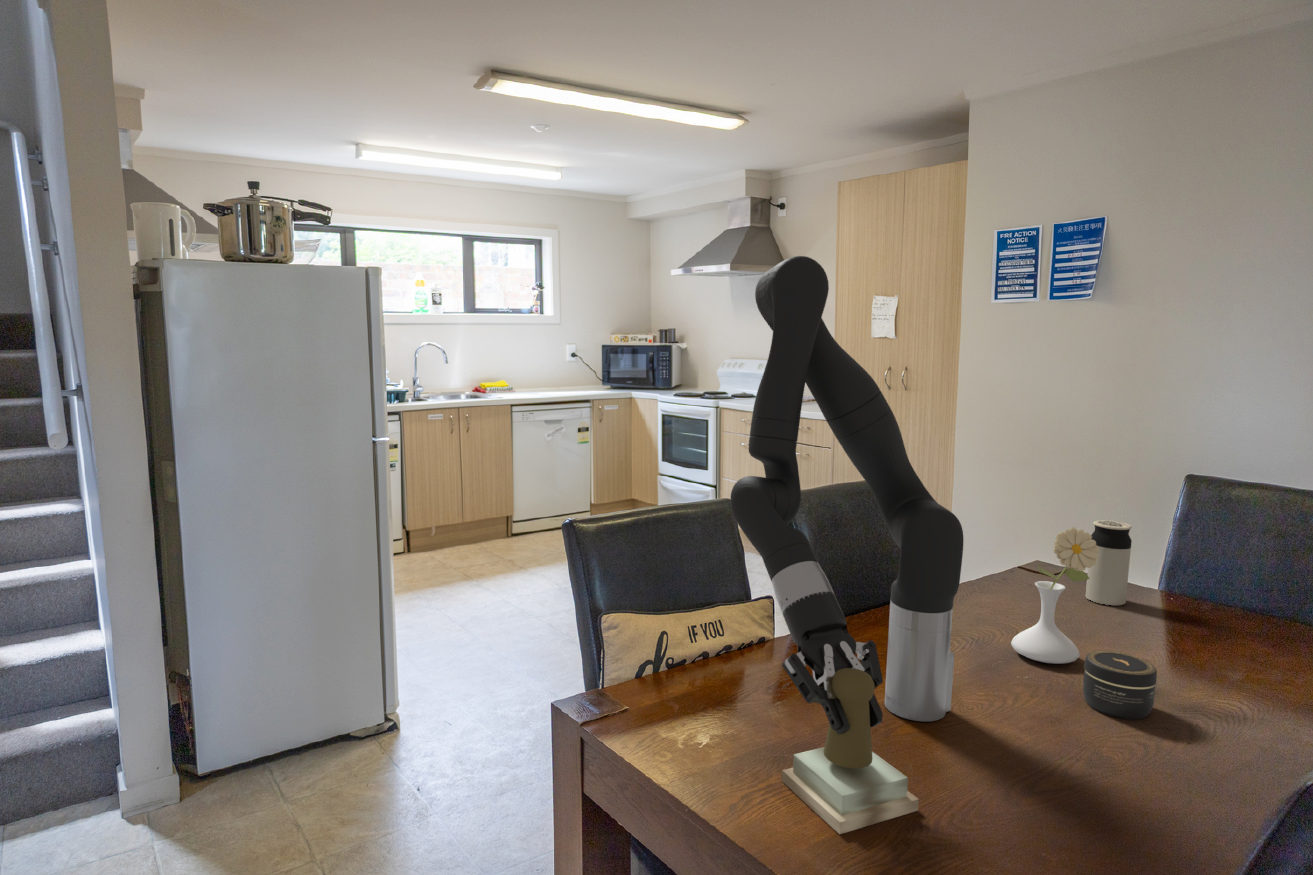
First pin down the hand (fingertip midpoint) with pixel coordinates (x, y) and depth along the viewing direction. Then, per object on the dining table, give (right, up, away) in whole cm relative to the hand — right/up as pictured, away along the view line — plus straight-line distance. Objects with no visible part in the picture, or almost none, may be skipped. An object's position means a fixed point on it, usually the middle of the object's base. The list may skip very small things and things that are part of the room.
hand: (860, 727), depth 95 cm
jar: (+49, -8, +29) cm, 57 cm away
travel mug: (+78, -2, +81) cm, 112 cm away
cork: (-1, -5, +2) cm, 5 cm away
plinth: (-1, -10, +3) cm, 10 cm away
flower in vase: (+48, -5, +48) cm, 68 cm away
